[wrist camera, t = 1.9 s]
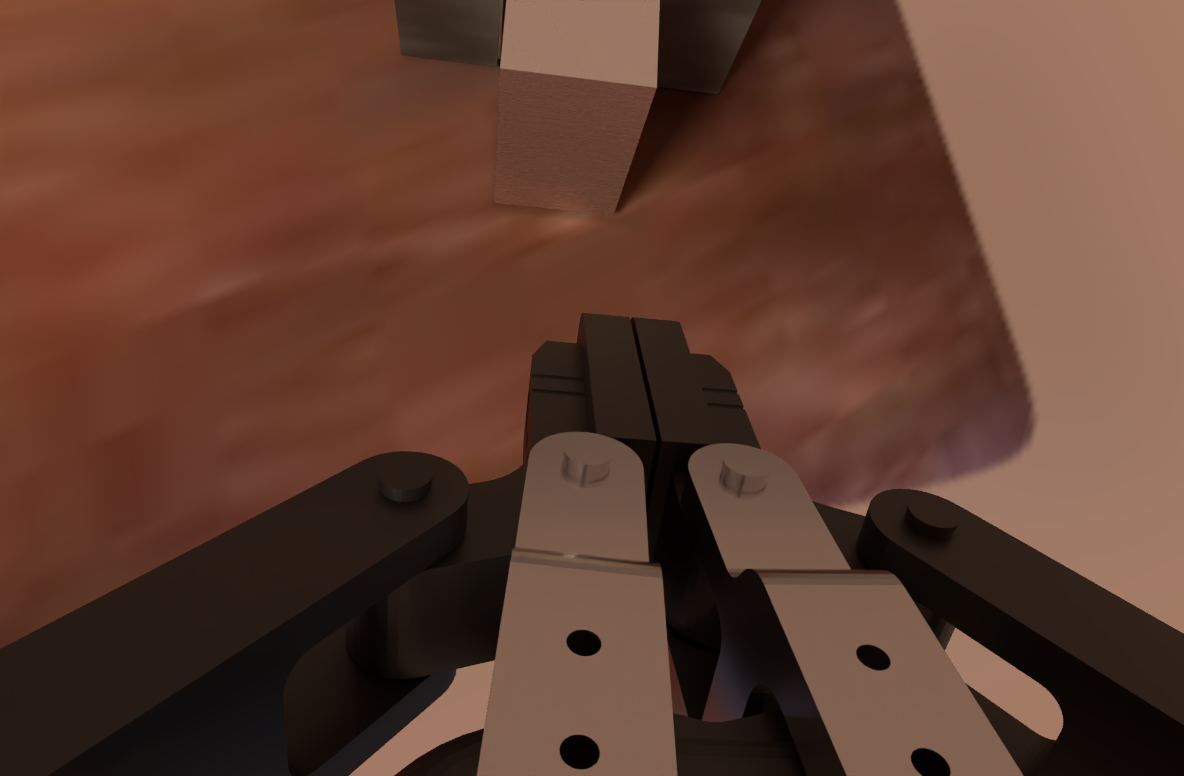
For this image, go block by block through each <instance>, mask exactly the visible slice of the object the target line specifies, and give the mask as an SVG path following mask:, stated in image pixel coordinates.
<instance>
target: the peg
mask: <svg viewBox="0 0 1184 776" xmlns="http://www.w3.org/2000/svg"><path fill="white" fill-rule="evenodd" d="M659 10H660V0H506V10H505V21H504V32H503V42H502V53H501V64H500V82H499V105H498V127H497V149H496V172H495V194H494V203H503V204H513V205H522V206H531V207H541V208H550V209H559V210H569V211H578V212H587V213H597V214H606V215H614V213H615V210H616V207H617V204H618V201H619V198H620V195H621V192H622V189H623V186H624V183H625V180H626V177H627V174H628V171H629V168H630V165H631V162H632V159H633V156H634V153H635V151H636V148H637V145H638V142H639V139H640V136H641V133H642V130H643V127H644V124H645V121H646V118H647V115H648V112H649V109H650V106H651V103H652V100H653V97H654V94H655V91H656V88H657V67H658V38H659Z"/></svg>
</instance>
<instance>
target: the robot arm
mask: <svg viewBox="0 0 1184 776" xmlns="http://www.w3.org/2000/svg"><path fill="white" fill-rule="evenodd" d="M955 627H956V628H957V629H959V630H960V631H962V632H963V633H965V634H966V635H968V636H969V637H971V638H972V639H974V640H975V641H977V642H978V643H980V644H981V645H983V646H984V647H986V648H987V649H989V650H990V651H992V652H993V653H995V654H996V655H998V656H1000V657H1001V658H1002V659H1004V660H1005V661H1007V662H1008V663H1010V664H1011V665H1013V666H1015V667H1016V668H1017V669H1019V670H1020V671H1022V672H1023V673H1025V674H1026V675H1028V676H1029V677H1031V678H1032V679H1034V680H1035V681H1037V682H1038V683H1040V684H1041V685H1042V686H1044V687H1045V688H1046V689H1047V690H1048V691H1049V692H1050V693H1051V694H1052V695H1053V696H1054V698H1055V699H1056V701H1057V702H1058V704H1059V706H1060V708H1061V711H1062V714H1063V728H1062V730H1061V733H1060V734H1059V736H1058V738H1057V740H1051V739H1048V738H1045V737H1043V736H1041V735H1039V734H1037V733H1035V732H1034V731H1032V730H1031V729H1029V728H1028V727H1027V726H1025V725H1024V724H1023V723H1021V722H1020V721H1018V720H1017V719H1015V718H1014V717H1013V716H1011V715H1010V714H1008V713H1007V712H1005V711H1004V710H1003V709H1001V708H1000V707H998V706H997V705H996V704H994V703H993V702H991V701H990V700H988V699H987V698H986V697H984V696H983V695H981V694H980V693H978V692H977V691H975V690H974V689H973V688H971V687H970V686H969V685H967V684H966V683H965V682H964V681H963V679H962V678H961V676H960V675H959V673H958V671H957V670H956V668H955V667H954V665H953V664H952V662H951V660H950V659H949V657H948V655H947V654H946V652H945V649H946V647H947V645H948V642H949V640H950V638H951V636H952V633H953V631H954V629H955ZM493 660H495V663H494V669H493V676H492V682H491V688H490V696H489V701H488V708H487V714H486V721H485V727H484V729H481V730H478V731H475V732H472V733H468V734H465V735H462V736H460V737H457V738H455V739H453V740H451V741H449V742H446V743H444V744H441V745H439V746H438V747H436V748H434V749H433V750H431V751H429V752H427V753H426V754H424V755H422V756H421V757H419V758H417V759H416V760H415V761H413V762H412V763H410V764H409V765H408V766H406V767H405V768H404V769H402V770H401V771H400V772H398V773H397V774H396V775H395V776H1184V634H1183V633H1181V632H1180V631H1178V630H1176V629H1174V628H1173V627H1171V626H1169V625H1167V624H1165V623H1164V622H1162V621H1160V620H1158V619H1157V618H1155V617H1153V616H1151V615H1150V614H1148V613H1146V612H1144V611H1143V610H1141V609H1139V608H1137V607H1136V606H1134V605H1132V604H1130V603H1129V602H1127V601H1125V600H1123V599H1122V598H1120V597H1118V596H1116V595H1115V594H1112V593H1111V592H1109V591H1107V590H1106V589H1104V588H1102V587H1101V586H1099V585H1097V584H1095V583H1094V582H1092V581H1090V580H1088V579H1086V578H1085V577H1083V576H1081V575H1079V574H1078V573H1076V572H1074V571H1072V570H1071V569H1069V568H1067V567H1065V566H1064V565H1062V564H1060V563H1058V562H1056V561H1055V560H1053V559H1051V558H1050V557H1048V556H1046V555H1044V554H1043V553H1041V552H1039V551H1037V550H1036V549H1034V548H1032V547H1030V546H1028V545H1027V544H1025V543H1023V542H1022V541H1020V540H1018V539H1016V538H1014V537H1013V536H1011V535H1009V534H1007V533H1006V532H1004V531H1002V530H1000V529H999V528H997V527H995V526H993V525H992V524H990V523H988V522H986V521H985V520H983V519H981V518H979V517H978V516H976V515H974V514H972V513H971V512H969V511H967V510H965V509H964V508H962V507H960V506H958V505H956V504H954V503H953V502H950V501H949V500H946V499H944V498H941V497H939V496H936V495H933V494H930V493H927V492H922V491H918V490H911V489H892V490H887V491H884V492H881V493H879V494H877V495H876V496H875V497H874V498H873V499H872V500H871V502H870V505H869V508H868V511H867V514H866V516H862V515H858V514H855V513H851V512H847V511H844V510H840V509H836V508H833V507H829V506H826V505H822V504H819V503H816V502H814V501H812V500H811V498H810V497H809V495H808V493H807V491H806V490H805V488H804V486H803V484H802V483H801V481H800V479H799V477H798V476H797V474H796V473H795V471H794V470H793V469H792V468H791V467H790V466H789V465H788V464H786V463H785V462H784V461H783V460H781V459H779V458H778V457H776V456H774V455H772V454H770V453H768V452H766V451H763V450H761V448H760V445H759V443H758V441H757V438H756V436H755V433H754V431H753V428H752V426H751V423H750V421H749V418H748V416H747V413H746V411H745V410H743V404H742V401H741V399H740V396H739V394H737V389H736V386H735V384H734V381H733V379H732V376H731V374H730V372H729V371H728V370H727V369H725V368H724V367H723V366H722V365H721V364H720V363H719V362H717V361H716V360H715V359H714V358H713V357H712V356H711V355H703V354H691V353H690V351H689V348H688V345H687V342H686V339H685V336H684V333H683V330H682V327H681V324H680V322H677V321H667V320H656V319H645V318H634V317H632V318H631V320H630V318H629V317H622V316H611V315H600V314H589V313H582V315H581V318H580V323H579V330H578V338H577V344H576V343H565V342H554V341H546V342H545V343H544V344H543V345H542V346H541V347H540V348H539V349H538V350H537V351H536V352H535V353H534V354H533V355H532V363H531V373H530V382H529V392H528V402H527V412H526V422H525V431H524V444H523V465H522V466H521V467H520V468H518V469H517V470H516V471H514V472H512V473H511V474H508V475H506V476H504V477H501V478H498V479H495V480H491V481H486V482H480V483H473V484H468V481H467V478H466V476H465V475H464V474H463V472H462V471H461V470H460V469H459V468H458V467H457V466H455V465H454V464H452V463H451V462H449V461H447V460H445V459H443V458H440V457H437V456H434V455H431V454H426V453H421V452H405V451H400V452H390V453H385V454H380V455H376V456H373V457H370V458H368V459H365V460H363V461H361V462H359V463H357V464H355V465H353V466H351V467H349V468H348V469H346V470H344V471H342V472H340V473H338V474H336V475H334V476H332V477H330V478H328V479H326V480H324V481H323V482H321V483H319V484H317V485H315V486H313V487H311V488H309V489H307V490H305V491H303V492H301V493H300V494H298V495H296V496H294V497H292V498H290V499H288V500H286V501H284V502H282V503H280V504H278V505H276V506H275V507H273V508H271V509H269V510H267V511H265V512H263V513H261V514H259V515H257V516H255V517H253V518H251V519H250V520H248V521H246V522H244V523H242V524H240V525H238V526H236V527H234V528H232V529H230V530H228V531H226V532H225V533H223V534H221V535H219V536H217V537H215V538H213V539H211V540H209V541H207V542H205V543H203V544H201V545H200V546H198V547H196V548H194V549H192V550H190V551H188V552H186V553H184V554H182V555H180V556H178V557H176V558H175V559H173V560H171V561H169V562H167V563H165V564H163V565H161V566H159V567H157V568H155V569H153V570H151V571H150V572H148V573H146V574H144V575H142V576H140V577H138V578H136V579H134V580H132V581H130V582H128V583H127V584H125V585H123V586H121V587H119V588H117V589H115V590H113V591H111V592H109V593H107V594H105V595H103V596H102V597H100V598H98V599H96V600H94V601H92V602H90V603H88V604H86V605H84V606H82V607H80V608H78V609H77V610H75V611H73V612H71V613H69V614H67V615H65V616H63V617H61V618H59V619H57V620H55V621H53V622H52V623H50V624H48V625H46V626H44V627H42V628H40V629H38V630H36V631H34V632H32V633H30V634H28V635H27V636H25V637H23V638H21V639H19V640H17V641H15V642H13V643H11V644H9V645H7V646H5V647H3V648H2V649H0V776H349V775H350V774H351V773H352V772H353V771H354V770H356V769H357V768H358V767H359V766H360V765H361V764H362V763H364V762H365V761H366V760H367V759H368V758H369V757H371V756H372V755H373V754H374V753H375V752H376V751H378V750H379V749H380V748H381V747H382V746H383V745H385V743H387V742H388V741H389V740H390V739H392V738H393V737H394V736H395V735H396V734H397V733H398V732H400V731H401V730H402V729H403V728H404V727H405V726H407V725H408V724H409V723H410V722H411V721H412V720H413V719H415V718H416V717H417V716H418V715H419V714H420V713H421V712H423V711H424V710H425V709H426V708H427V707H428V706H430V705H431V704H432V703H433V702H434V701H435V700H437V699H438V698H439V697H440V696H441V695H442V694H443V693H444V692H445V691H446V690H447V689H448V688H449V686H450V685H451V683H452V682H453V680H454V677H455V675H456V669H458V668H463V667H467V666H471V665H476V664H480V663H485V662H489V661H493Z"/></svg>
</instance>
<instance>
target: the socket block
mask: <svg viewBox="0 0 1184 776" xmlns="http://www.w3.org/2000/svg"><path fill="white" fill-rule="evenodd" d="M761 1H762V0H660V10H659V38H658V67H657V87H663V88H671V89H679V90H687V91H695V92H703V93H711V94H719V92H720V90H721V88H722V86H723V83H724V81H725V79H726V77H727V75H728V72H729V70H730V68H731V66H732V64H733V62H734V59H735V57H736V55H737V53H738V51H739V49H740V46H741V44H742V42H743V40H744V38H745V35H746V33H747V31H748V29H749V27H750V25H751V22H752V20H753V18H754V16H755V14H756V12H757V9H758V7H759V5H760V3H761ZM505 2H506V0H395V7H396V15H397V23H398V31H399V38H400V46H401V54H402V55H406V56H414V57H422V58H430V59H438V60H446V61H454V62H462V63H470V64H478V65H486V66H494V67H497V63H498V59H500V56H501V45H502V34H503V23H504V12H505Z"/></svg>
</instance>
